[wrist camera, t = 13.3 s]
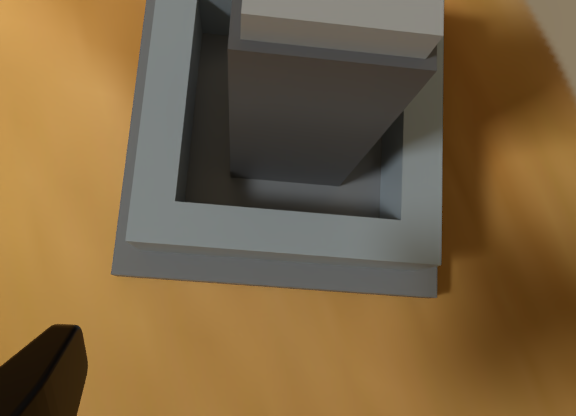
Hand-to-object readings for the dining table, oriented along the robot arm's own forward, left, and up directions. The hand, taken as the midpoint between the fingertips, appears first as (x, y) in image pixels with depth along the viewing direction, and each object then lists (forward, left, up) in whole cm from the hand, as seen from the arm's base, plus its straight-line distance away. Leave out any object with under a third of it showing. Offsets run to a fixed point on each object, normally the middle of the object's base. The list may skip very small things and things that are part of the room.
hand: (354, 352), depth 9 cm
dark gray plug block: (+5, +6, -12) cm, 15 cm away
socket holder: (+5, +6, -13) cm, 16 cm away
